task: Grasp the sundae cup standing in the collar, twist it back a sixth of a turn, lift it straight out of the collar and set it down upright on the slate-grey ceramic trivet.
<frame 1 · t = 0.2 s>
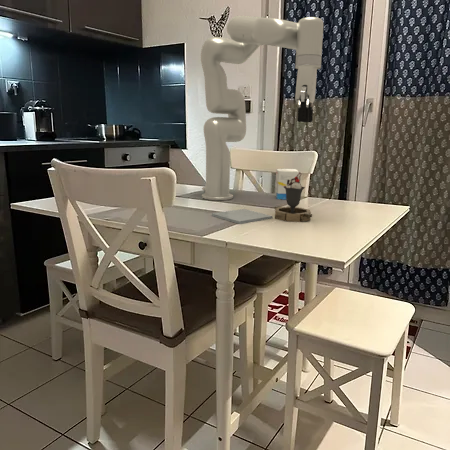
hand: (305, 122, 133), 30 cm above the table, fingers open, 9 cm apart
collar: (292, 217, 141), on the table
ink box: (286, 198, 178), on the table
trivet: (241, 217, 141), on the table
sundae: (292, 218, 141), resting in collar
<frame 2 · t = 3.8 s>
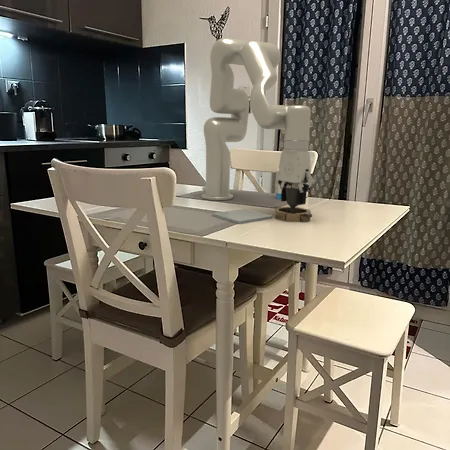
hand: (293, 202, 140), 5 cm above the table, fingers closed on sundae, 6 cm apart
sundae: (292, 218, 141), resting in collar, touching gripper
everything else where it was.
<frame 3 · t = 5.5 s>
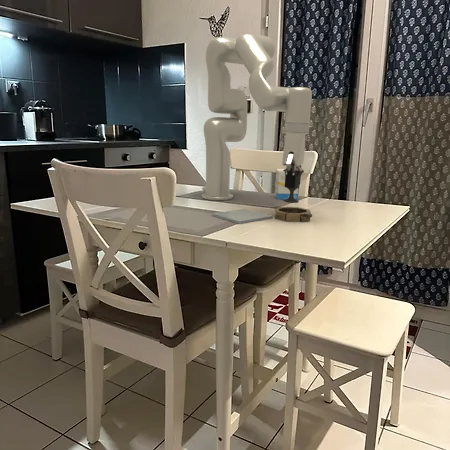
hand: (292, 185, 139), 10 cm above the table, fingers closed on sundae, 6 cm apart
sundae: (291, 202, 140), point 5 cm above the table, touching gripper
everything else where it was.
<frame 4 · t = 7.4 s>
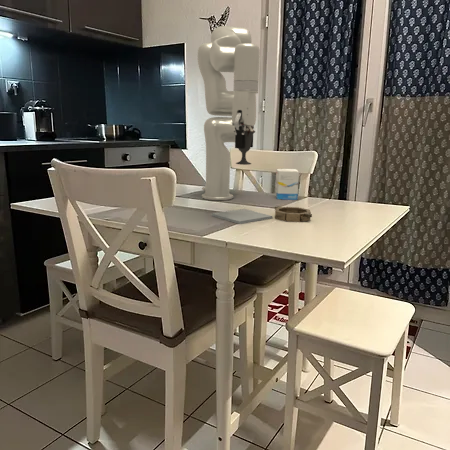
hand: (244, 147, 136), 22 cm above the table, fingers closed on sundae, 6 cm apart
sundae: (243, 164, 137), point 17 cm above the table, touching gripper
everything else where it was.
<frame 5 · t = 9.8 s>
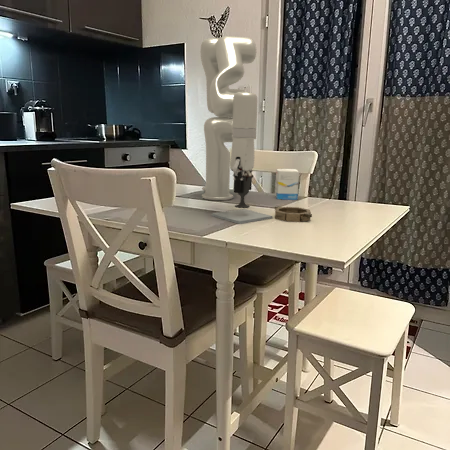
hand: (242, 190, 139), 9 cm above the table, fingers closed on sundae, 6 cm apart
sundae: (242, 207, 140), point 3 cm above the table, touching gripper
everything else where it was.
when the fingers open (6 cm above the table, at t = 11.4 s): sundae stays where it is, resting on trivet.
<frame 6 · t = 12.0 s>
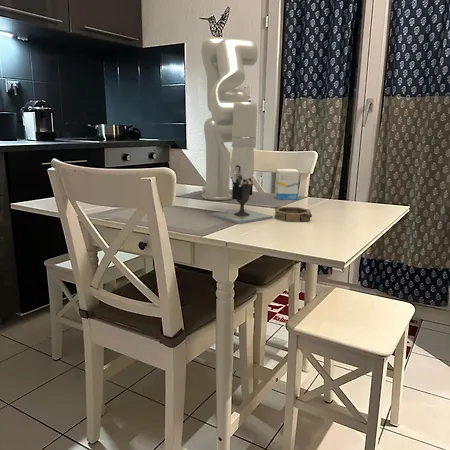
hand: (242, 197, 139), 7 cm above the table, fingers open, 9 cm apart
sundae: (241, 215, 141), point 1 cm above the table, touching trivet
everything else where it was.
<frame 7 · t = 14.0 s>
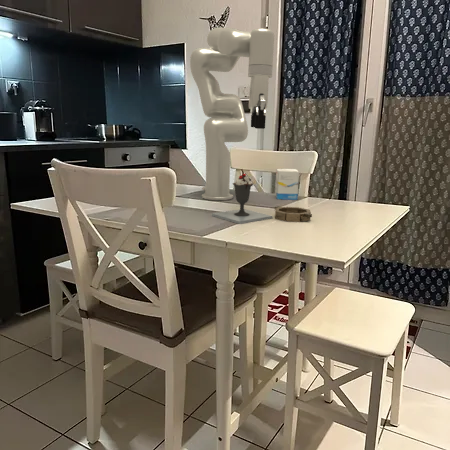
hand: (257, 127, 141), 28 cm above the table, fingers open, 9 cm apart
nothing on the table moved.
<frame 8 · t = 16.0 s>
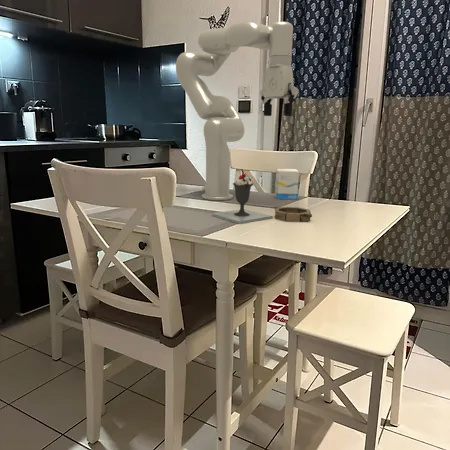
hand: (277, 115, 148), 32 cm above the table, fingers open, 9 cm apart
nothing on the table moved.
at the end: sundae inside the target area on the trivet (0.0 cm from its centre), point 0.6 cm above the trivet's base; sundae tilted 0°; the gripper is holding nothing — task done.
